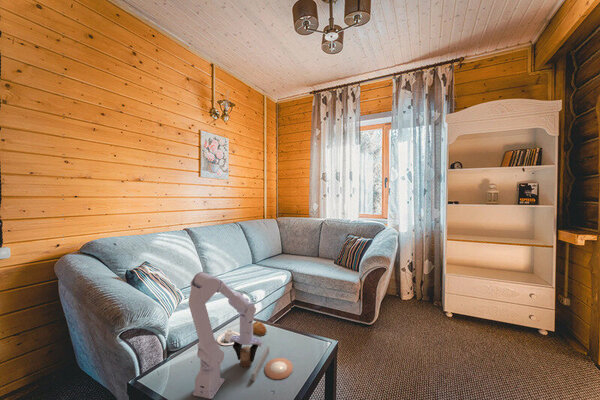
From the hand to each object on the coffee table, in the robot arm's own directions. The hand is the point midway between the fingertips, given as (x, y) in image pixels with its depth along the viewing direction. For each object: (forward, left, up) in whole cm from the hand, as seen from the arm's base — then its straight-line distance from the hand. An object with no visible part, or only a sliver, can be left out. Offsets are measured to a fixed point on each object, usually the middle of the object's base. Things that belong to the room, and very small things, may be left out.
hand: (246, 359), depth 108 cm
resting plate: (0, -15, -2) cm, 15 cm away
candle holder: (+15, +16, -2) cm, 22 cm away
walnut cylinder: (0, 0, -2) cm, 2 cm away
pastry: (+26, +4, -2) cm, 26 cm away
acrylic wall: (0, -7, -2) cm, 7 cm away
